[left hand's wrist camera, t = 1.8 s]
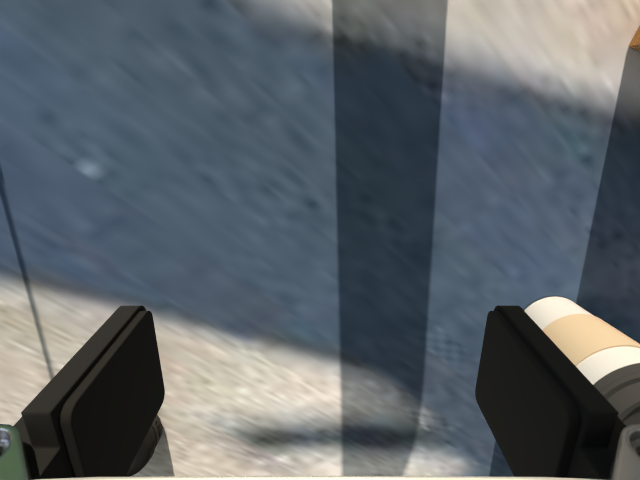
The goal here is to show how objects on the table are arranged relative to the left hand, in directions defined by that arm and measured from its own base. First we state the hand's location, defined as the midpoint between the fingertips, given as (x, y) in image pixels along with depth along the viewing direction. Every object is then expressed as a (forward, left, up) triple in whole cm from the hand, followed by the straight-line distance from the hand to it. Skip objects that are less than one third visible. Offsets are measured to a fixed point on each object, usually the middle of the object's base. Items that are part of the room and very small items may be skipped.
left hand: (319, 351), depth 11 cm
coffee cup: (+6, +29, -28) cm, 41 cm away
